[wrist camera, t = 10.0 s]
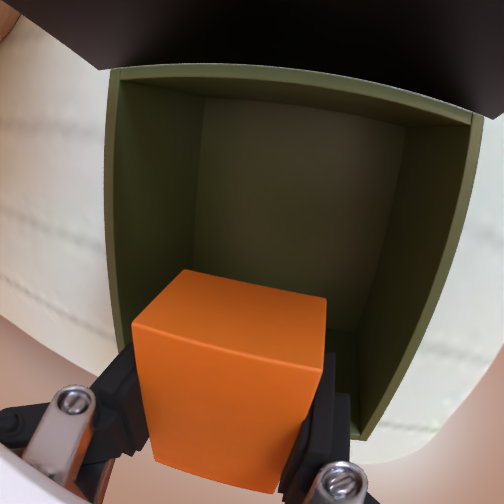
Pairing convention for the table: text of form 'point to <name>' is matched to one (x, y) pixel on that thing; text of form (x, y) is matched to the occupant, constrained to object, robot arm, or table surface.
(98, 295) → the table surface
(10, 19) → the vase
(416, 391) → the table surface
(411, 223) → the olive green hollow box
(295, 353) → the block
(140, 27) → the flap
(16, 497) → the robot arm
